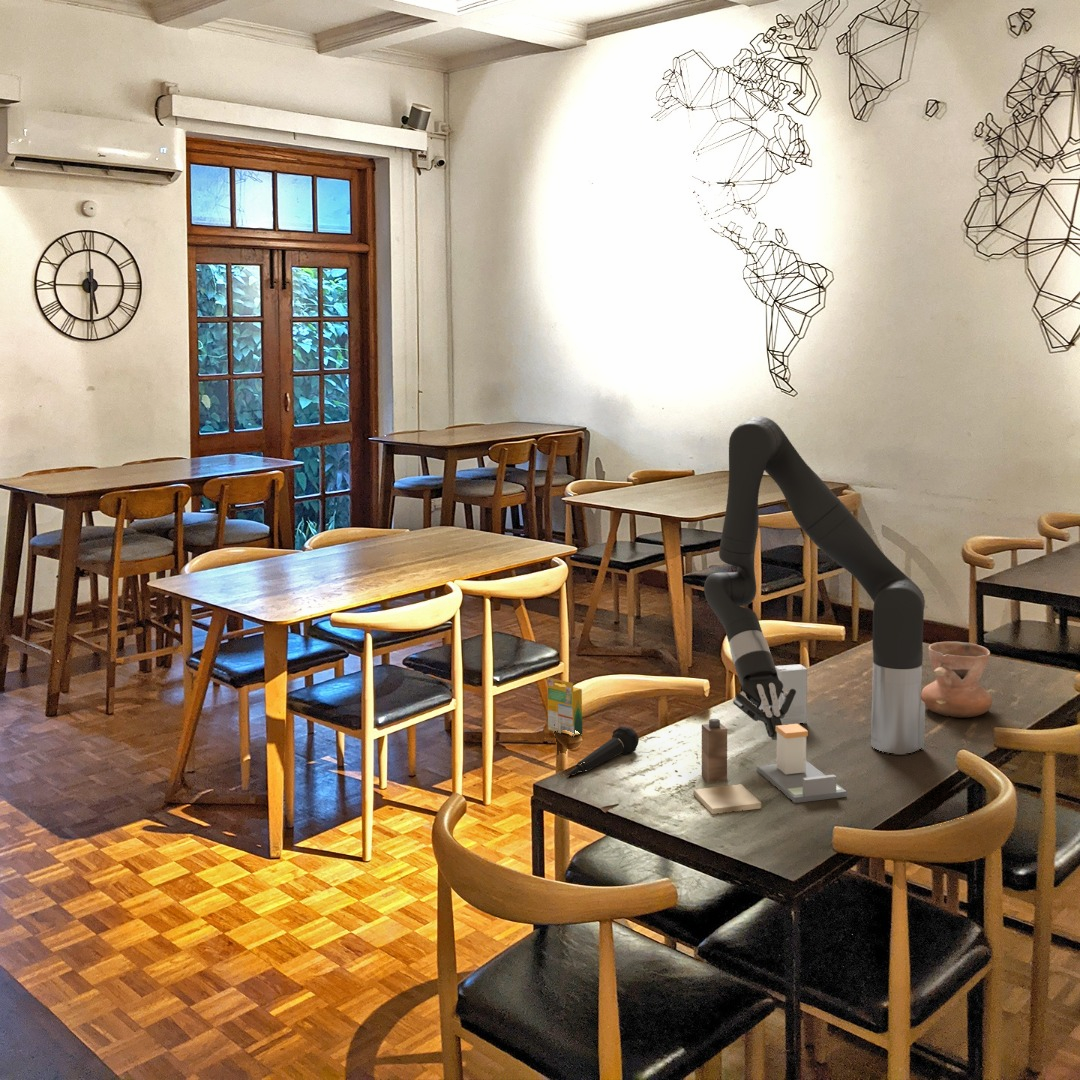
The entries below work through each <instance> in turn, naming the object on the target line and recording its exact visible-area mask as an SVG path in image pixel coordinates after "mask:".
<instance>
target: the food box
mask: <svg viewBox="0 0 1080 1080" xmlns="http://www.w3.org/2000/svg"><path fill="white" fill-rule="evenodd" d="M546 681H547V682H546V684H547V685H546V687H547V691H546V692H547V694H546V695H547V730H548V731H550V732H554V733H558V734H561V731H562V730H567V731H570V732H572V733H574V734H575V730H576V731H578V732H579V733H580V735H582V734H583V689H582V688H579V687H575V686H574V683H573V682H570V681H566V680H561V679H556V678H552V677H548V676H547V677H546ZM554 724H555V726H554ZM554 727H555V729H554ZM557 730H558V732H557ZM555 731H556V732H555ZM574 734H573V737H572V738H575V737H574Z"/></svg>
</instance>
